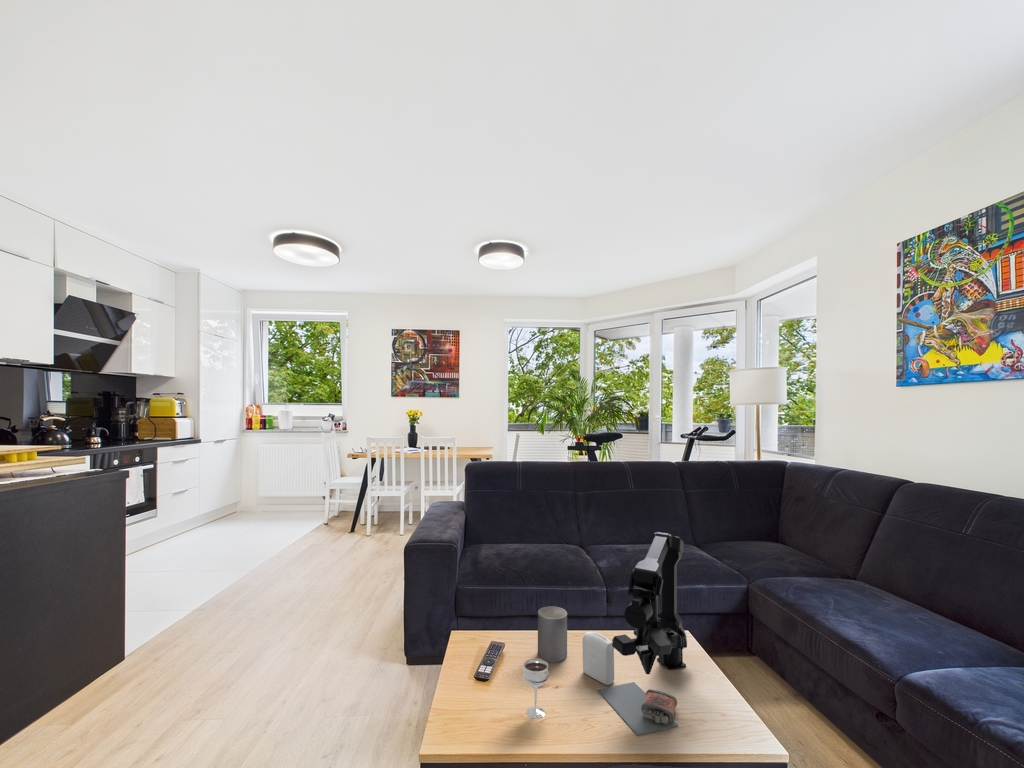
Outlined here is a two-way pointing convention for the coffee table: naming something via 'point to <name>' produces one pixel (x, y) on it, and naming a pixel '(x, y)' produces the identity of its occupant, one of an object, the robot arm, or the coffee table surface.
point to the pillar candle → (552, 634)
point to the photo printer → (598, 657)
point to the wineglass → (535, 682)
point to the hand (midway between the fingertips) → (647, 673)
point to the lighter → (659, 706)
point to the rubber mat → (632, 707)
